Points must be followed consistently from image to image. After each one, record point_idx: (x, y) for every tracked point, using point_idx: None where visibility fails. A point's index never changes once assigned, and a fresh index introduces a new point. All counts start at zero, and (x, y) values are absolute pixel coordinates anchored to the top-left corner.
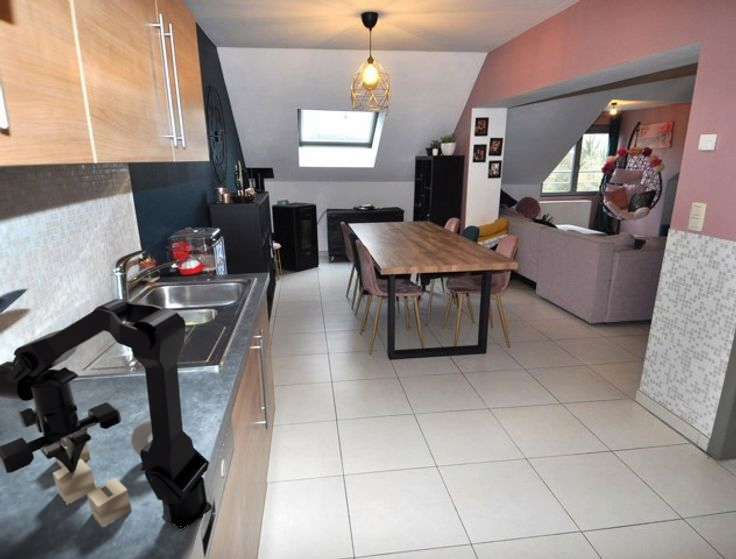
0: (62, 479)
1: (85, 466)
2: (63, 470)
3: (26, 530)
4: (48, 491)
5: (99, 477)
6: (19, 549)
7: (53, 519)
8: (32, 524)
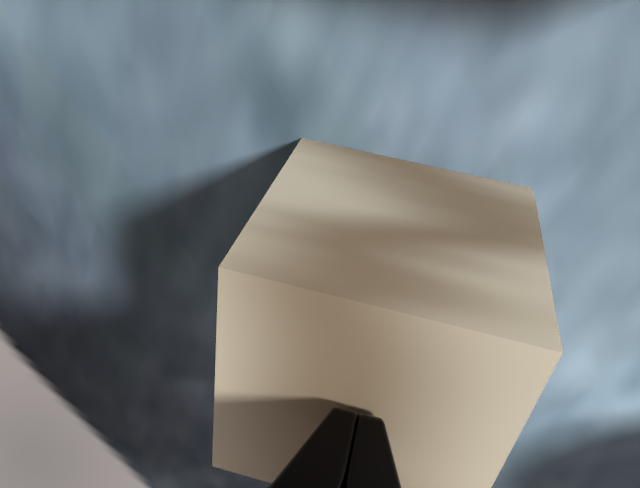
0: (242, 424)
1: (473, 475)
2: (312, 334)
3: (57, 267)
4: (263, 31)
5: (587, 278)
6: (18, 342)
7: (183, 327)
8: (90, 257)
